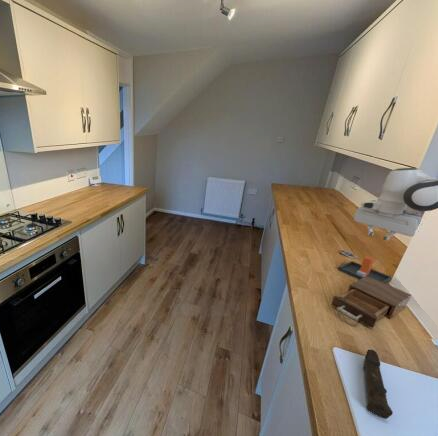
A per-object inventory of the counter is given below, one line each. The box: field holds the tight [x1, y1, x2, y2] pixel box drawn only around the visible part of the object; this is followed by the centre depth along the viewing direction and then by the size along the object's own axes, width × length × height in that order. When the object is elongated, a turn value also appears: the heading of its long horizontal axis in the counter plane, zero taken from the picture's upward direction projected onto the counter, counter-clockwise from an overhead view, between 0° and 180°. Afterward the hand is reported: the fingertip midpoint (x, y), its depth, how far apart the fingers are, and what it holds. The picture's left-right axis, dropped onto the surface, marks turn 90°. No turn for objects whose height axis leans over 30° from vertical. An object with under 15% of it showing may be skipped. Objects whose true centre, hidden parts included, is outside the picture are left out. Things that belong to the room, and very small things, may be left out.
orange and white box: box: [356, 255, 376, 277], centre depth 107 cm, size 3×6×8 cm, turn 117°
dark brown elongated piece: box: [363, 349, 394, 419], centre depth 61 cm, size 19×4×5 cm, turn 142°
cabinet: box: [346, 276, 412, 320], centre depth 91 cm, size 14×14×6 cm
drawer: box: [330, 289, 390, 329], centre depth 85 cm, size 17×12×4 cm
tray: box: [337, 260, 392, 284], centre depth 109 cm, size 15×12×2 cm
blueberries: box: [340, 249, 359, 259], centre depth 126 cm, size 7×8×2 cm
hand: (378, 237), depth 102 cm, fingers open, 4 cm apart
